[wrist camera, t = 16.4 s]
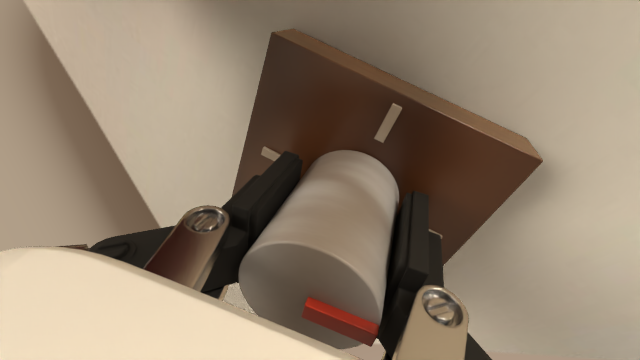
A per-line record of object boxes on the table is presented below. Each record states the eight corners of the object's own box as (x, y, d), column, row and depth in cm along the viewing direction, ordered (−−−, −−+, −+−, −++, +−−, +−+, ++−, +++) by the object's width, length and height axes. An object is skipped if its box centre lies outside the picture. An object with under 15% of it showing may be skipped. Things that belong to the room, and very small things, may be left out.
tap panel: (246, 193, 17) (225, 215, 15) (292, 28, 12) (268, 32, 10) (407, 275, 16) (405, 308, 15) (527, 138, 11) (546, 163, 10)
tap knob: (297, 213, 14) (229, 323, 9) (313, 136, 12) (234, 226, 7) (381, 244, 13) (355, 379, 8) (414, 168, 11) (403, 292, 6)
